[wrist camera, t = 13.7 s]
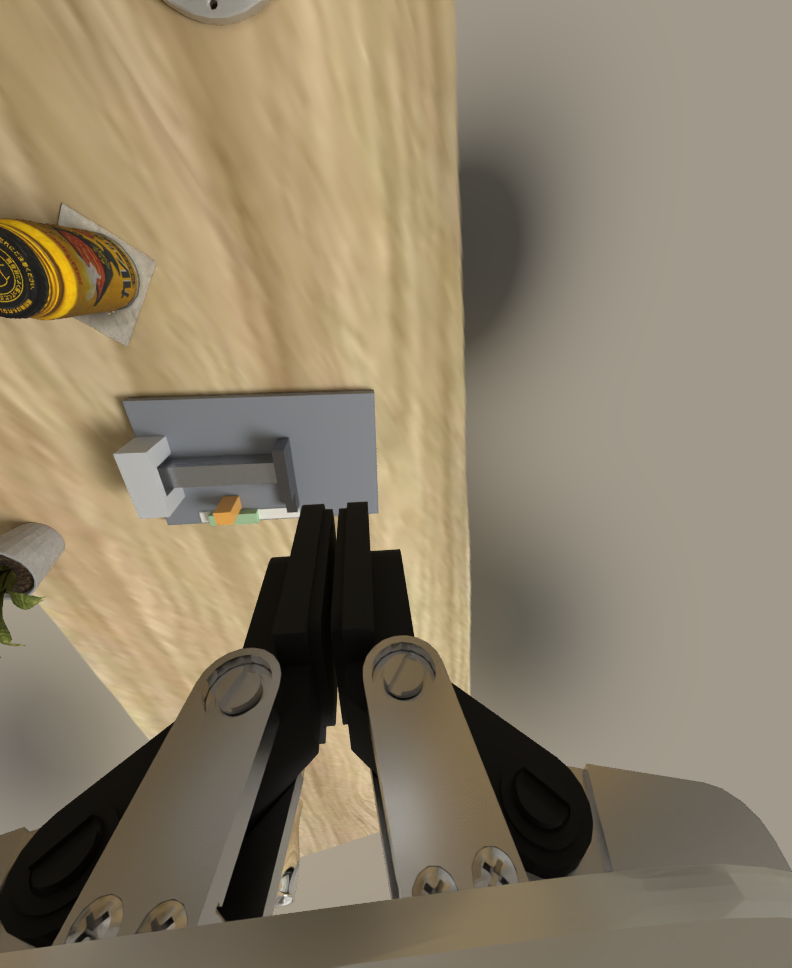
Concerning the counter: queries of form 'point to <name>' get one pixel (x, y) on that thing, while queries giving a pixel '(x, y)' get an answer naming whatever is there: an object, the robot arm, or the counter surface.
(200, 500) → the board
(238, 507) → the orange block
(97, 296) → the condiment
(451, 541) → the counter surface
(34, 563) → the house plant
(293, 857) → the beer glass
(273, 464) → the plunger
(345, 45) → the counter surface
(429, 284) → the counter surface
